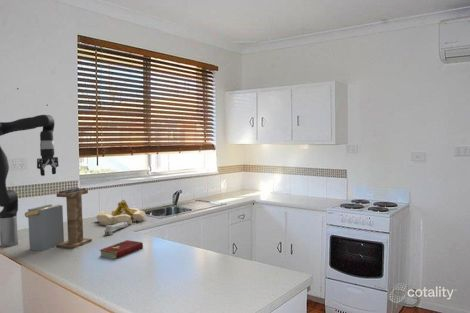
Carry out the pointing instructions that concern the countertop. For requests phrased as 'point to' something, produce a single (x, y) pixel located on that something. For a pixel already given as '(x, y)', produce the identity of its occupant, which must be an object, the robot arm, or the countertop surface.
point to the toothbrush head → (115, 227)
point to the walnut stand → (74, 218)
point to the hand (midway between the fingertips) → (48, 174)
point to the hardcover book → (121, 249)
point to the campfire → (121, 215)
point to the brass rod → (34, 212)
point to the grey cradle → (46, 228)
